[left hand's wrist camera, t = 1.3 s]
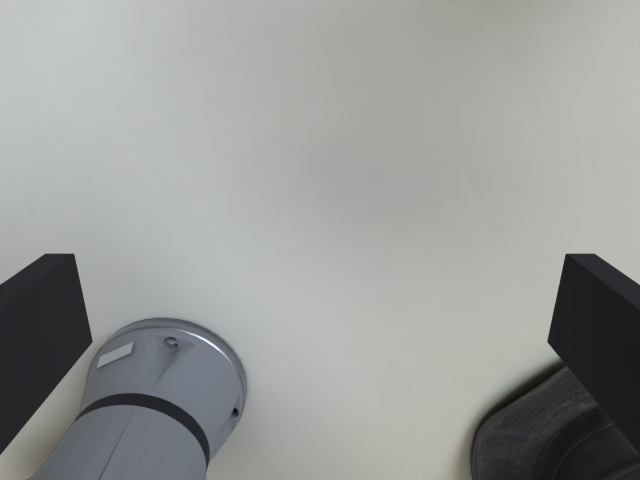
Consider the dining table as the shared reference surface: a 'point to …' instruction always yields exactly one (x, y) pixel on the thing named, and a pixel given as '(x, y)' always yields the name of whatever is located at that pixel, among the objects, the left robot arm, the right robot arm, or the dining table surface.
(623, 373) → the left robot arm
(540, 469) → the hat
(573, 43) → the dining table surface
